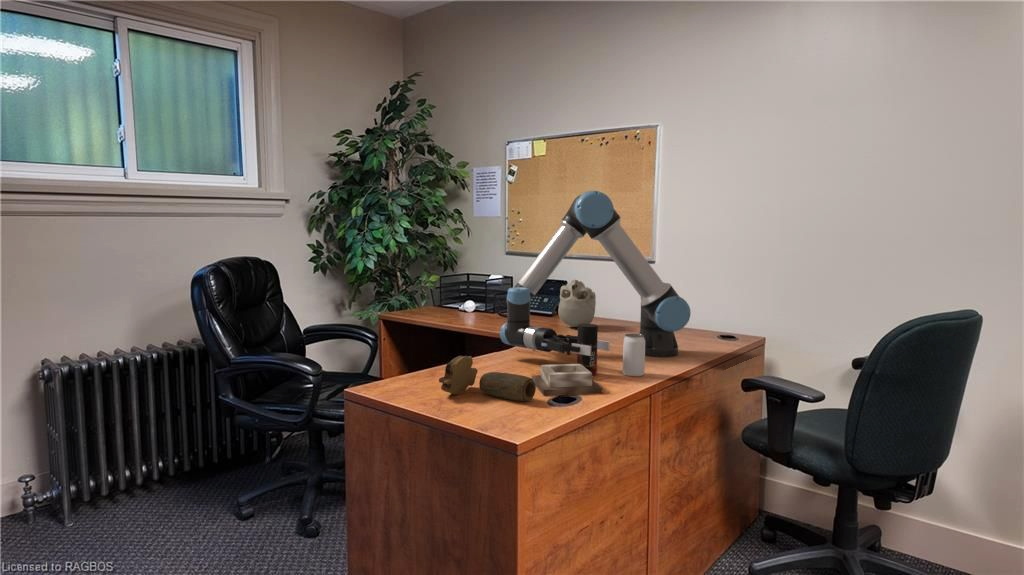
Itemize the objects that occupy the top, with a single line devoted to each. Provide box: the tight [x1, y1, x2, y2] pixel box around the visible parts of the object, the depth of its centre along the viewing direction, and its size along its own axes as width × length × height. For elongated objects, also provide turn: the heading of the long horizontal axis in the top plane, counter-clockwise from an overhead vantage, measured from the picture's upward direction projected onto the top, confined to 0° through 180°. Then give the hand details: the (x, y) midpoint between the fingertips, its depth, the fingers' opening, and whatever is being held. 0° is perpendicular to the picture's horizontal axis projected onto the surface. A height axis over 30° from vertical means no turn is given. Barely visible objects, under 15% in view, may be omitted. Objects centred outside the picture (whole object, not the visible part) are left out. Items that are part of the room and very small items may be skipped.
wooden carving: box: [438, 355, 478, 396], centre depth 161 cm, size 16×5×10 cm, turn 159°
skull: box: [557, 279, 597, 328], centre depth 267 cm, size 20×15×22 cm
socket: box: [531, 363, 603, 397], centre depth 168 cm, size 16×16×5 cm
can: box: [622, 333, 646, 377], centre depth 183 cm, size 6×6×12 cm
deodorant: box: [576, 323, 599, 377], centre depth 182 cm, size 6×6×15 cm
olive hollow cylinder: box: [478, 371, 537, 402], centre depth 157 cm, size 15×7×7 cm, turn 57°
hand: (599, 348), depth 179 cm, fingers open, 9 cm apart
